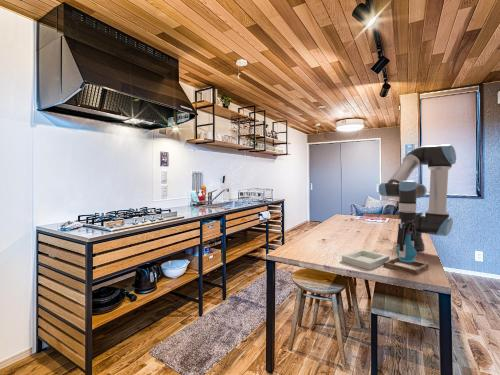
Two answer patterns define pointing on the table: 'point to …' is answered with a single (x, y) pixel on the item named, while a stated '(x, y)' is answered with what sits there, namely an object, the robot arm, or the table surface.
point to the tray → (365, 259)
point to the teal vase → (408, 250)
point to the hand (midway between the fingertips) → (406, 255)
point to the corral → (390, 264)
